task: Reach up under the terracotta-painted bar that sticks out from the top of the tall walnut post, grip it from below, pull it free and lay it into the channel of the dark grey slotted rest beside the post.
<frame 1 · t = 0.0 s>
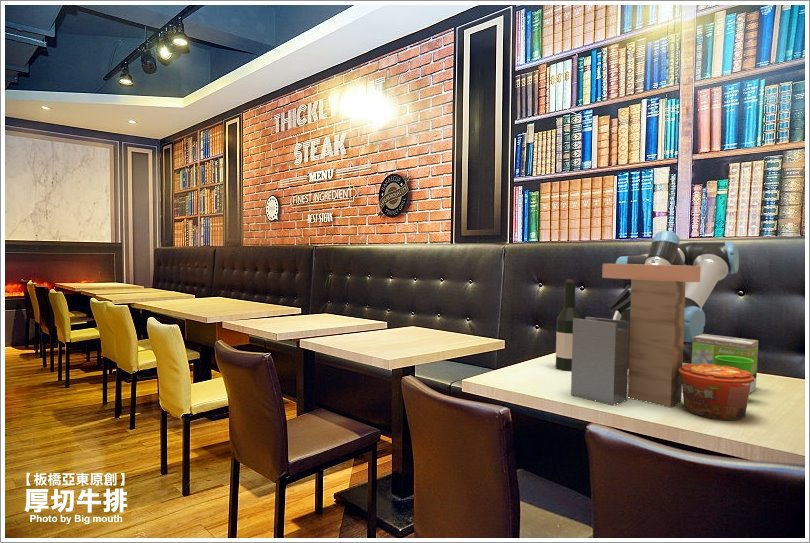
hand: (634, 334, 151), 15 cm above the table, tool tilted 35°, fingers open, 13 cm apart
bar: (648, 279, 137), point 32 cm above the table, touching post
cup: (732, 399, 139), on the table
wine bottle: (567, 369, 173), on the table
post: (654, 400, 136), on the table
food container: (713, 413, 126), on the table
tea box: (722, 388, 151), on the table
rest: (598, 397, 138), on the table
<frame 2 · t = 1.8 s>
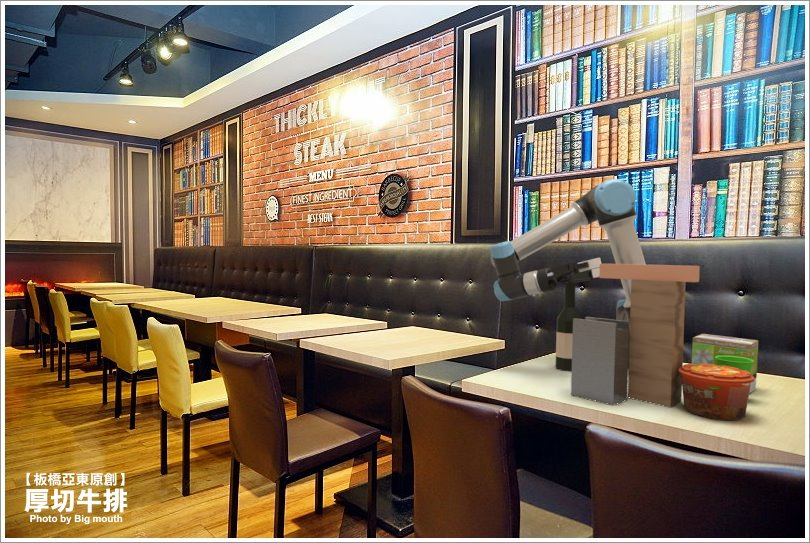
hand: (607, 265, 154), 35 cm above the table, tool pointing upward, fingers open, 13 cm apart
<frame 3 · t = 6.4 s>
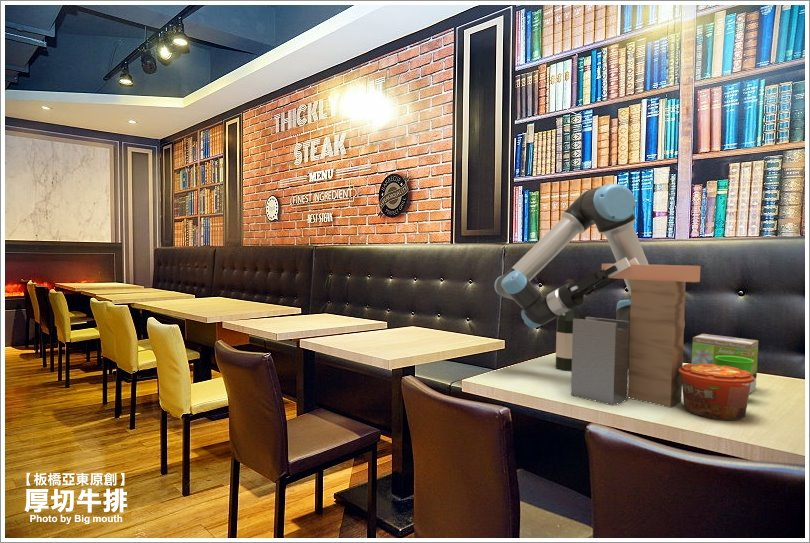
hand: (632, 262, 140), 37 cm above the table, tool pointing upward
bar: (647, 279, 137), point 32 cm above the table, touching gripper
everything else where it was.
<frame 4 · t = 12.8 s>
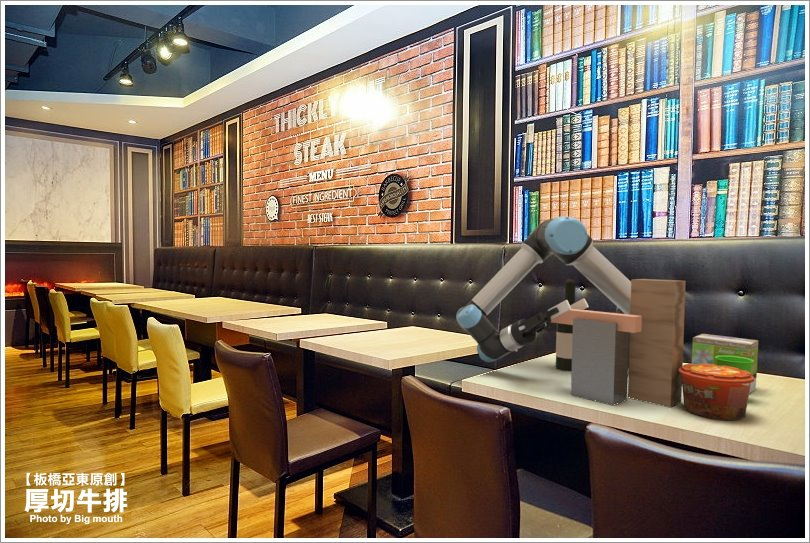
hand: (577, 303, 142), 25 cm above the table, tool pointing upward, fingers open, 8 cm apart
bar: (593, 326, 139), point 19 cm above the table, touching rest
everything else where it was.
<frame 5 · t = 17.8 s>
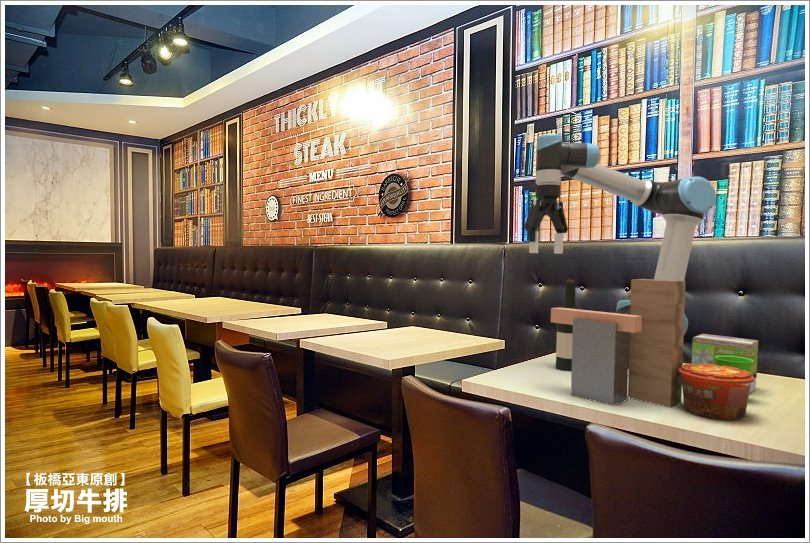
hand: (546, 253, 160), 39 cm above the table, tool pointing down, fingers open, 13 cm apart
nothing on the table moved.
at the end: bar inside the target area on the rest (0.0 cm from its centre), point 19.0 cm above the rest's base; the gripper is holding nothing; bar touching rest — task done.
